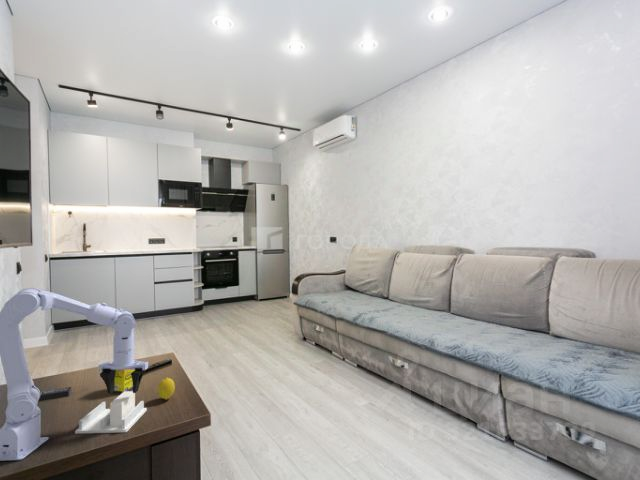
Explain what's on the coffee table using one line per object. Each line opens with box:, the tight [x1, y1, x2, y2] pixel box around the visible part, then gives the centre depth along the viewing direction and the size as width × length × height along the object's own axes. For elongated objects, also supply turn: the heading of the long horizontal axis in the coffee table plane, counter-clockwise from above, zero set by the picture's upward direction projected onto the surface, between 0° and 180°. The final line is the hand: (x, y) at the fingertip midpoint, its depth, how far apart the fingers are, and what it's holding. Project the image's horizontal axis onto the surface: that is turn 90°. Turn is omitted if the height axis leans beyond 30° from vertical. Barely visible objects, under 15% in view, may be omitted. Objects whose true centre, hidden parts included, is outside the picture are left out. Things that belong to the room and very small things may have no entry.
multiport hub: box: [38, 386, 72, 402], centre depth 122 cm, size 4×11×2 cm, turn 116°
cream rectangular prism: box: [109, 390, 136, 426], centre depth 105 cm, size 4×8×7 cm, turn 3°
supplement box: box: [112, 359, 137, 394], centre depth 128 cm, size 6×6×11 cm
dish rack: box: [74, 400, 148, 435], centre depth 105 cm, size 13×15×4 cm
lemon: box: [157, 377, 176, 401], centre depth 120 cm, size 6×6×8 cm
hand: (123, 391), depth 105 cm, fingers open, 7 cm apart
